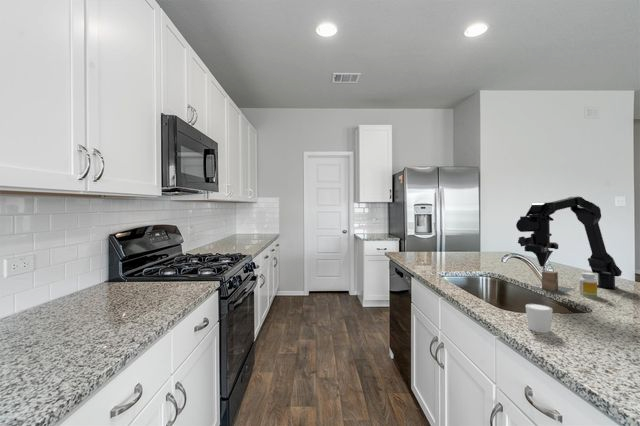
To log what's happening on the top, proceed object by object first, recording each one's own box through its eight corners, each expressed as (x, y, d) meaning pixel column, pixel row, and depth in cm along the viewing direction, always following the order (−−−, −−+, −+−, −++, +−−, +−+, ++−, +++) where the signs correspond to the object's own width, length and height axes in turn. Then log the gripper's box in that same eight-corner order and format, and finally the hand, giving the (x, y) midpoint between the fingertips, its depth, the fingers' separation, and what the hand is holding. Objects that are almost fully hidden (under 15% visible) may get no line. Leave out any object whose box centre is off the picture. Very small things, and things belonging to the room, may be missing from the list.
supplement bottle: (600, 298, 121) (600, 274, 121) (587, 298, 121) (587, 275, 121) (589, 294, 127) (588, 272, 127) (576, 294, 127) (576, 272, 127)
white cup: (545, 335, 88) (545, 312, 88) (521, 327, 94) (520, 305, 94) (557, 330, 91) (557, 308, 91) (533, 323, 97) (532, 302, 97)
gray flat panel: (544, 284, 145) (544, 283, 145) (575, 289, 135) (575, 288, 135) (531, 288, 137) (531, 288, 137) (562, 294, 127) (562, 293, 127)
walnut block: (546, 287, 137) (546, 270, 137) (558, 289, 134) (557, 272, 134) (542, 289, 135) (541, 271, 135) (553, 291, 131) (553, 273, 131)
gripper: (530, 229, 142) (530, 261, 142) (511, 231, 132) (511, 266, 132) (558, 230, 132) (559, 265, 132) (540, 232, 122) (540, 270, 122)
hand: (542, 266), depth 130 cm, fingers closed
